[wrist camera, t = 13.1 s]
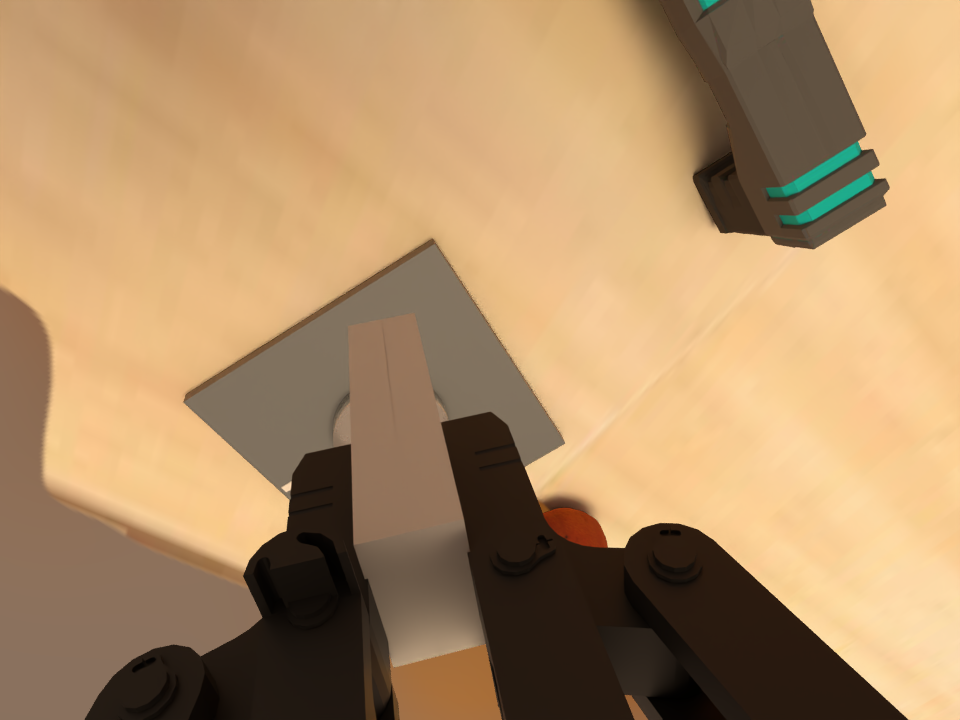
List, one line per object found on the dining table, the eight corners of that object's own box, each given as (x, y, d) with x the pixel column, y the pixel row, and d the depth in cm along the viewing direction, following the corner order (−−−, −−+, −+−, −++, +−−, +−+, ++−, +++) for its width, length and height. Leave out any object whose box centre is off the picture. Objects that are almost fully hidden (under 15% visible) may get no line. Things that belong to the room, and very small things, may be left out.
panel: (186, 394, 51) (182, 403, 50) (432, 238, 49) (434, 244, 48) (357, 553, 64) (358, 563, 63) (561, 435, 61) (565, 444, 60)
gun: (721, 245, 52) (822, 262, 38) (541, -98, 46) (580, -237, 31) (791, 202, 52) (921, 202, 37) (619, -152, 45) (695, -320, 31)
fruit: (597, 488, 66) (627, 544, 59) (585, 549, 70) (611, 608, 63) (516, 495, 64) (537, 554, 57) (508, 557, 68) (527, 619, 62)
